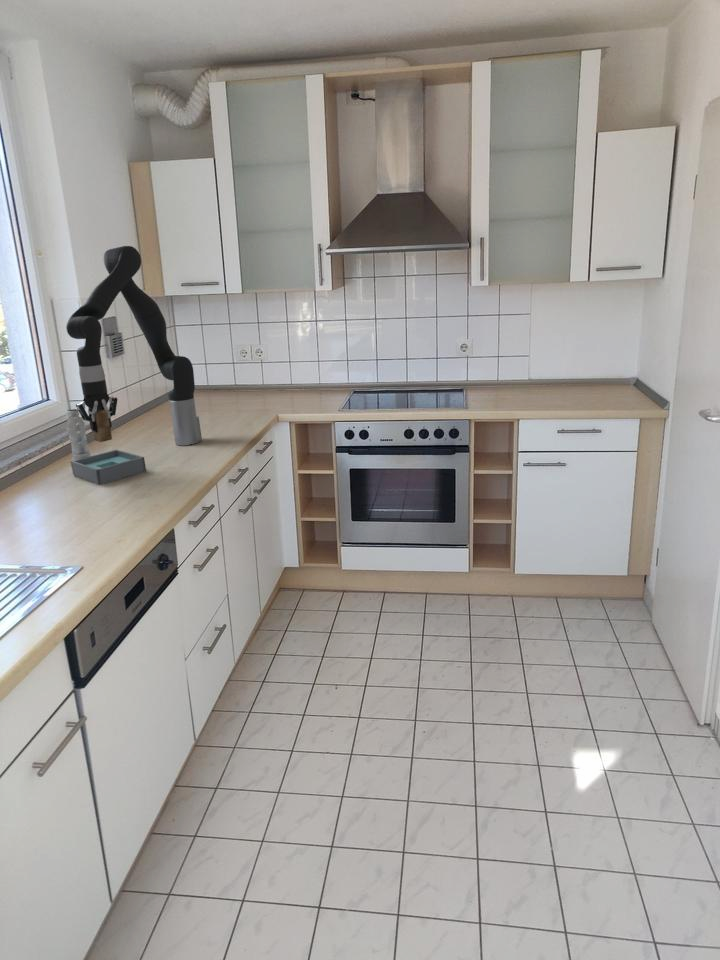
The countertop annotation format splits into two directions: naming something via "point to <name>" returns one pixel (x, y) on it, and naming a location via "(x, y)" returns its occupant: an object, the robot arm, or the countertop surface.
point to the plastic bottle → (77, 435)
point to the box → (108, 466)
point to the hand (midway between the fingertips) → (101, 430)
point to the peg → (102, 426)
